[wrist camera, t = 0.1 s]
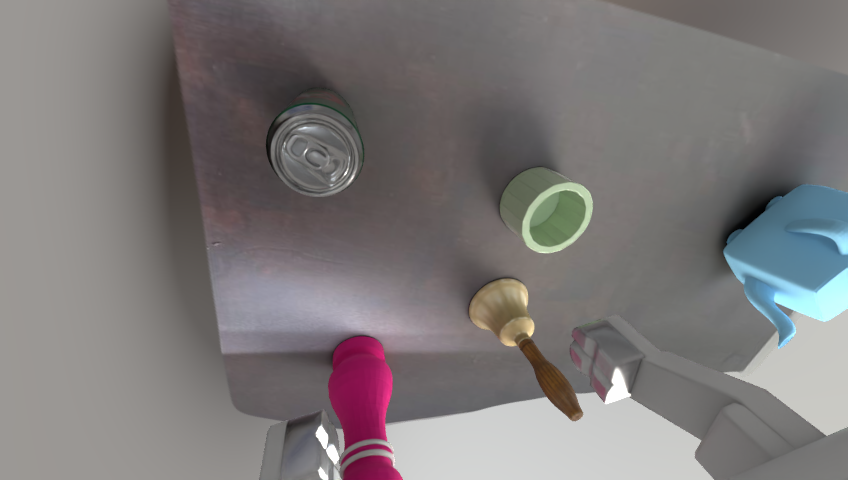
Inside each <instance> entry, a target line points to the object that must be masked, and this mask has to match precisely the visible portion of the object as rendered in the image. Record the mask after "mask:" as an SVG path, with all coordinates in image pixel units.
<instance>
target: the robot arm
mask: <svg viewBox="0 0 848 480" xmlns="http://www.w3.org/2000/svg"><path fill="white" fill-rule="evenodd" d="M572 337H573V338H574V339H575V340H574V341H573V342H572V344H571V345H570V355H571V358H572V361H573V363H574V365H575V366H576V368H577V369H578V370H579V372H580V373H581V374H583V375H585V376H587V377H589V378H590V385H591V387H592V388H593V389H594V390H595V392H596V393H597V394H598V395H599V397H600V398H601V399H602V400H603V402H604V403H605V404H606V403H609V402H611V401H615V400H618V399H621V398H624V397H627V396H630V398H632V399H633V400H635V401H637V402H638V403H640V404H642V405H643V406H645V407H647V408H648V409H650V410H652V411H654V412H655V413H657V414H659V415H661V416H662V417H664V418H665V419H667V420H668V421H670V422H672V423H674V424H675V425H677V426H679V427H680V428H682V429H684V430H685V431H687V432H689V433H690V434H692V435H694V436H695V437H697V438H699V439H700V440H702V441H701V443H700V445H699V447H698V448H697V450H696V451H695V458H696V460H697V461H698V462H699V463H700V464H701V465H702V466H703V467H704V469H705V470H706V471H707V472H708V473H709V474H710V475H711V476H712V477H713V479H714V480H848V427H847V428H845V429H842V430H840V431H838V432H836V433H833V434H831V435H828V436H826V435H824V434H823V433H822V432H820V431H819V430H818V429H817V428H815V427H814V426H813V425H811V424H810V423H809V422H807V421H806V420H805V419H803V418H802V417H801V416H800V415H798V414H797V413H796V412H794V411H793V410H792V409H790V408H789V407H788V406H786V405H785V404H784V403H783V402H781V401H780V400H779V399H777V398H776V397H774V396H773V395H772V394H771V393H769V392H768V391H767V390H765V389H763V388H760V387H758V386H755V385H753V384H750V383H747V382H745V381H742V380H740V379H737V378H735V377H732V376H729V375H727V374H724V373H722V372H719V371H717V370H714V369H711V368H709V367H706V366H704V365H701V364H699V363H696V362H693V361H691V360H688V359H686V358H683V357H681V356H678V355H675V354H673V353H670V352H668V351H662V352H661V351H660V350H658V349H657V348H656V347H655V346H654V345H653V344H652V343H651V342H649V341H648V340H647V339H646V338H645V337H644V336H643V335H641V334H640V333H639V332H638V331H637V330H636V329H635V328H633V327H632V326H631V325H630V324H629V323H628V322H627V321H625V320H624V319H623V318H622V317H621V316H618V315H613V316H610V317H607V318H604V319H600V320H597V321H594V322H591V323H588V324H585V325H582V326H579V327H576V328H574V330H573V331H572ZM339 456H340V455H339V441H338V435H337V432H336V429H335V426H334V425H333V423H330V422H328V414H327V412H326V410H325V409H324V410H320V411H317V412H314V413H311V414H307V415H304V416H301V417H298V418H294V419H291V420H287V421H284V422H281V423H278V424H275V425H272V426H270V428H269V430H268V433H267V437H266V443H265V449H264V455H263V460H262V466H261V472H260V478H259V480H340V473H339V471H338V469H337V468H336V466H335V464H336V463H337V461H338V459H339Z"/></svg>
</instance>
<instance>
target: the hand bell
mask: <svg viewBox="0 0 848 480" xmlns="http://www.w3.org/2000/svg"><path fill="white" fill-rule="evenodd" d="M527 303H528V292H527V289H526V287H525V286H524V285H523V284H522V283H521V282H520V281H517V280H515V279H510V278H505V279H499V280H496V281H493V282H490V283H489V284H487V285H485V286H484V287H482V288H481V289H480V290H479V291H478V292H477V293H476V294H475V296H474V297H473V299H472V301H471V303H470V306H469V316H470V319H471V320H472V322H473V323H474V324H475V325H477V326H478V327H480V328H482V329H486V330H491V331H492V332H493V333H494V334H495V335H496V336H497V337H498V338H499V339H500V341H501V342H502V343H503V344H505V345H507V346H516V345H517V346H518V347H519V348H520V350H521V351H522V352H523V353H524V355H525V356H526V357H527V359H528V360H529V361H530V363H531V364H532V366H533V368H534V371H535V375H536V378H537V380H538V382H539V385H540V386H541V388H542V390H543V392H544V393H545V395H546V396H547V397H548V399H549V400H550V401H551V402H552V403H553V404H554V405H555V406H556V407H557V408H558V409H559V410H561V411H562V412H563V413H564V414H565V415H566V416H568V418H569V419H570V420H572V421H577V420H579V419H580V418H581V417H582V416H583V412H582V410H581V408H580V406H579V403H578V400H577V397H576V395H575V392H574V390H573V388H572V386H571V385H570V383H569V382H568V380H567V379H566V378H565V376H564V375H563V374H562V373H561V372H560V371H559V370H558V369H557V368H556V367H555V366H554V365H553V364H551V363H550V362H549V361H547V360H546V359H545V358H544V357H543V355H542V354H541V352H540V351H539V349H538V348H537V346H536V345H535V344H534V342H533V340H531V338H530V337H531V335H532V333H533V331H534V323H533V321H532V319H531V318H530V316H529V314H528V311H527V309H526V306H527Z"/></svg>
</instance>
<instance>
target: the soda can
mask: <svg viewBox="0 0 848 480" xmlns="http://www.w3.org/2000/svg"><path fill="white" fill-rule="evenodd" d="M266 150H267V156H268V159H269V162H270V164H271V167H272V169H273V170H274V172H275V173H276V175H277V176H278V177H279V178H280V179H281V180H282V181H283V182H284V183H285V184H286V185H287V186H289V187H290V188H292V189H293V190H295V191H297V192H299V193H301V194H304V195H307V196H313V197H325V196H330V195H334V194H337V193H339V192H341V191H343V190H345V189H346V188H348V187H349V186H350V185H351V184H352V183H353V182H354V181H355V180H356V179H357V177H358V175H359V174H360V172H361V169H362V166H363V162H364V146H363V142H362V139H361V135H360V133H359V130H358V127H357V124H356V121H355V118H354V115H353V112H352V110H351V108H350V106H349V104H348V103H347V102H346V100H345V99H344V98H343V97H342V96H340V95H339V94H338V93H336V92H334V91H332V90H330V89H326V88H311V89H308V90H306V91H304V92H302V93H301V94H299V95H298V96H297V97H296V98H295V99H294V100H293V101H292V102H291V103H290V104H289V105H288V106H287V107H286V108H285V109H284V110H283V111H282V112H281V113H280V114H279V115H278V116H277V117H276V118H275V120H274V121H273V123H272V124H271V126H270V128H269V131H268V134H267V139H266Z"/></svg>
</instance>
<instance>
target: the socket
mask: <svg viewBox="0 0 848 480" xmlns="http://www.w3.org/2000/svg"><path fill="white" fill-rule="evenodd" d="M592 209H593V202H592V198H591V194H590V192H589V191H588V190H587V189H586V188H585V187H584V186H583V185H581V184H579V183H577V182H575V181H574V180H572V179H570V178H568V177H566V176H564V175H562V174H560V173H558V172H556V171H553V170H550V169H548V168H543V167H536V168H531V169H528V170H526V171H524V172H522V173H520V174H519V175H517V176H516V177H515V178H514V179H513V180H512V181H511V182H510V183H509V184H508V186H507V187H506V189H505V190H504V192H503V195H502V198H501V201H500V214H501V218H502V220H503V222H504V223H505V224H506V226H507V227H508V228H509V229H510V230H511V231H512V232H513V233H514V234H515V235H516V236H517V237H518V238H519V239H520V240H521V241H522V242H524V243H525V244H526V245H527V246H528V247H529V248H531V249H532V250H534V251H535V252H540V253H551V252H555V251H559V250H562V249H564V248H565V247H567V246H568V245H570V244H572V243H573V242H574V241H575V240H576V239H577V238H578V237H579V236H580V235H581V234H582V233H583V232H584V231H585V229H586V227H587V225H588V223H589V221H590V219H591V215H592Z"/></svg>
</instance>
